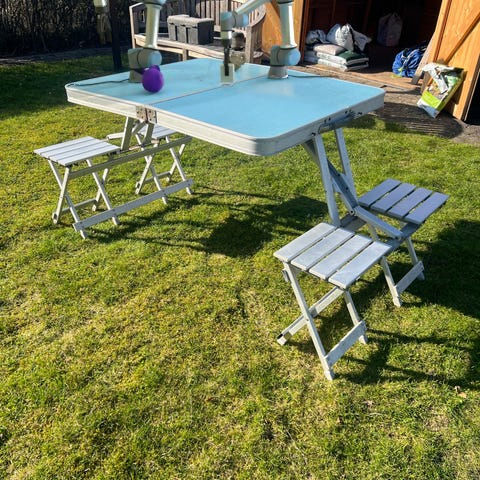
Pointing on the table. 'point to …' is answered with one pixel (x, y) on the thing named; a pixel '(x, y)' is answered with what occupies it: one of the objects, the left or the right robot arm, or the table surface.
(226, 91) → the table surface
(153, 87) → the toy
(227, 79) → the brick
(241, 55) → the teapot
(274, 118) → the table surface
